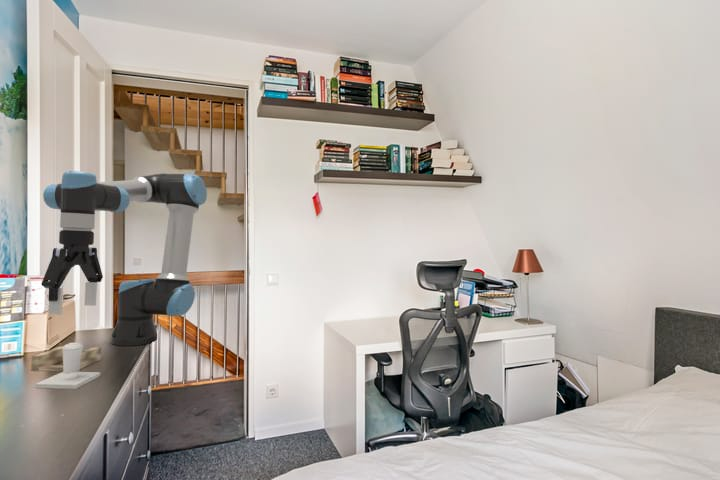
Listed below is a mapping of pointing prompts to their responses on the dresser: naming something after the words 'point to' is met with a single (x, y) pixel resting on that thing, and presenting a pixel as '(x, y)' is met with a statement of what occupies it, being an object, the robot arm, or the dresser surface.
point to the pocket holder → (55, 355)
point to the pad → (67, 381)
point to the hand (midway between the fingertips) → (73, 309)
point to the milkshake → (71, 360)
